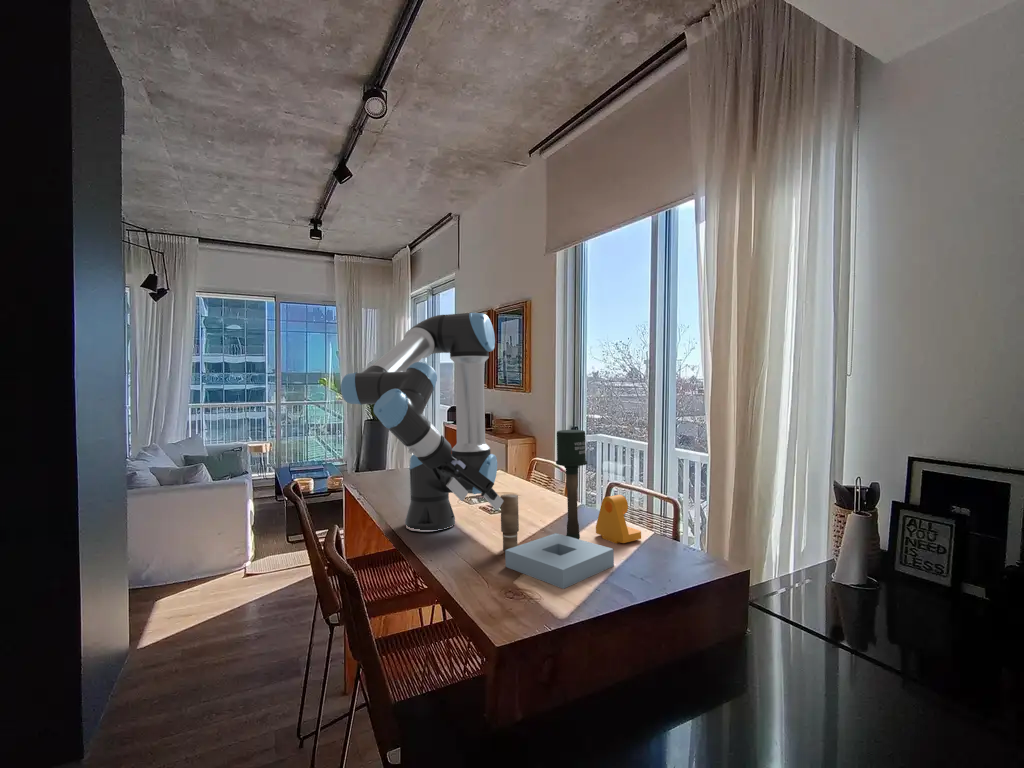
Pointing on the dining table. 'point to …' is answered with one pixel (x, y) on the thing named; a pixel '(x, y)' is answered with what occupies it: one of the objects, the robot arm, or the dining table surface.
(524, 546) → the socket plate
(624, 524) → the bracket
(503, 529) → the peg
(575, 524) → the potato masher grenade
